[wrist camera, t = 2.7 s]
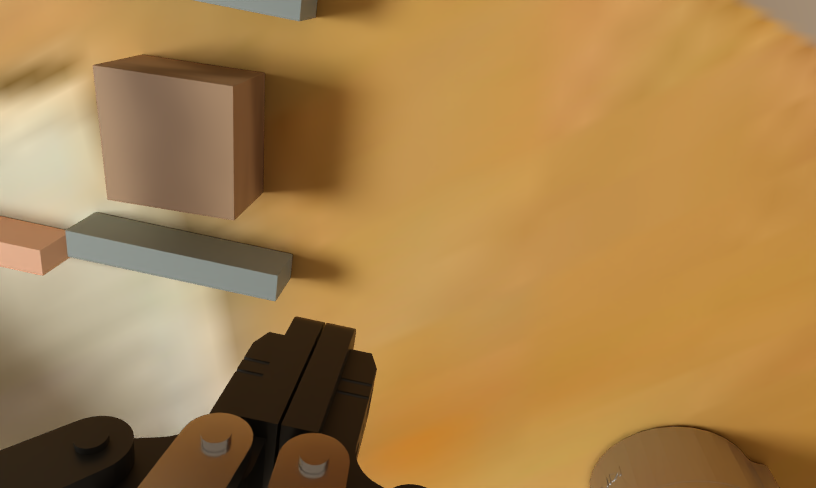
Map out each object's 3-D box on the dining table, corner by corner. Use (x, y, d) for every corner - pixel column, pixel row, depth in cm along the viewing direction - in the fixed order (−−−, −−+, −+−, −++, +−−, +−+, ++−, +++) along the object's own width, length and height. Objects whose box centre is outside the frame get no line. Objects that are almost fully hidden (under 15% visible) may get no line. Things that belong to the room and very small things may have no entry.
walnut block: (266, 72, 27) (232, 86, 23) (264, 191, 30) (234, 220, 26) (144, 54, 27) (92, 65, 24) (153, 173, 30) (107, 199, 26)
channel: (319, -19, 25) (303, -19, 23) (290, 278, 31) (275, 301, 29) (76, -67, 25) (36, -72, 23) (97, 236, 32) (67, 256, 29)
